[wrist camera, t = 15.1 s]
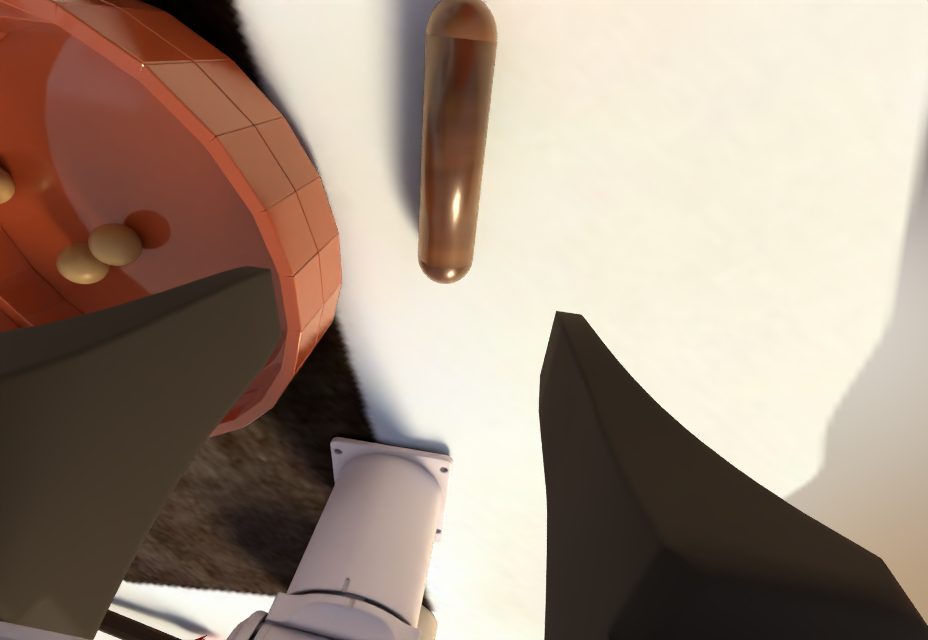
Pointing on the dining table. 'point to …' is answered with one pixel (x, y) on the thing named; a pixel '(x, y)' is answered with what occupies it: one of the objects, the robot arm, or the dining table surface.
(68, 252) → the bead
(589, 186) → the dining table surface
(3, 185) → the bead
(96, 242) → the bead
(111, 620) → the wand
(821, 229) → the dining table surface
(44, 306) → the bowl
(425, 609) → the lumpy-topped squat cylinder
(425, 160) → the stick
